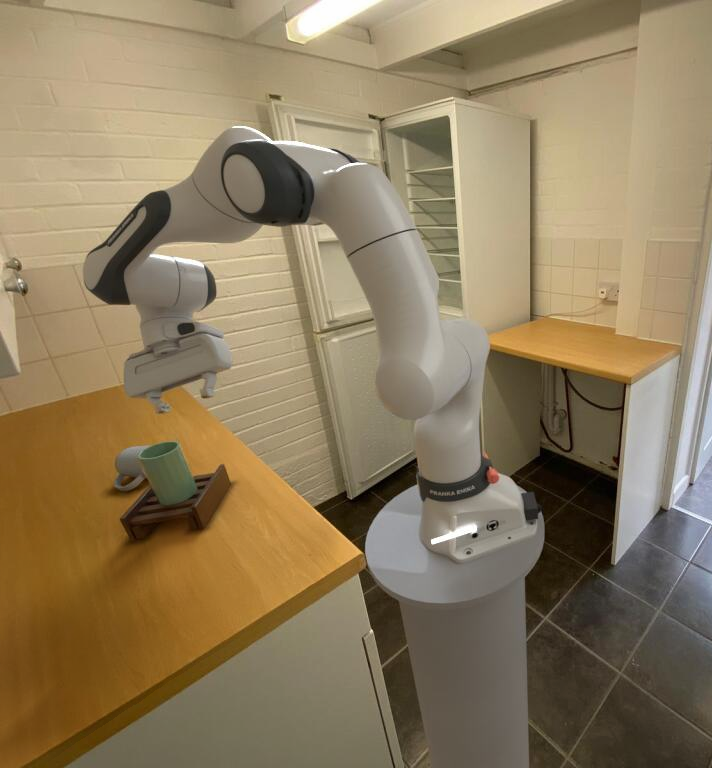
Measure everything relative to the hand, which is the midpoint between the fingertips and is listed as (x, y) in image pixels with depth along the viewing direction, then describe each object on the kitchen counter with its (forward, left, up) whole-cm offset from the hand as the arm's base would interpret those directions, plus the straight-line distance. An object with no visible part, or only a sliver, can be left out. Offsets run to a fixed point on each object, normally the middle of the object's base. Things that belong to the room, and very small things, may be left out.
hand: (185, 405), depth 81 cm
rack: (+7, +1, -23) cm, 24 cm away
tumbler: (+7, +1, -19) cm, 20 cm away
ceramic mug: (+22, -15, -23) cm, 35 cm away
